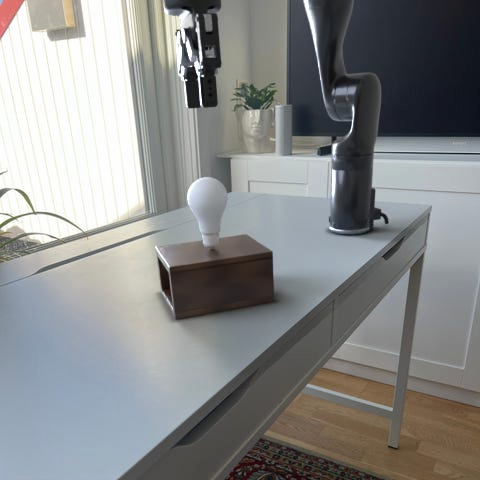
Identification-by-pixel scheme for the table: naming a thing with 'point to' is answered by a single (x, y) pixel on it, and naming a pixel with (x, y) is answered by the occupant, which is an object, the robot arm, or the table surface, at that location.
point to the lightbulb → (208, 207)
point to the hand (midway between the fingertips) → (201, 107)
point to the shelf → (215, 275)
